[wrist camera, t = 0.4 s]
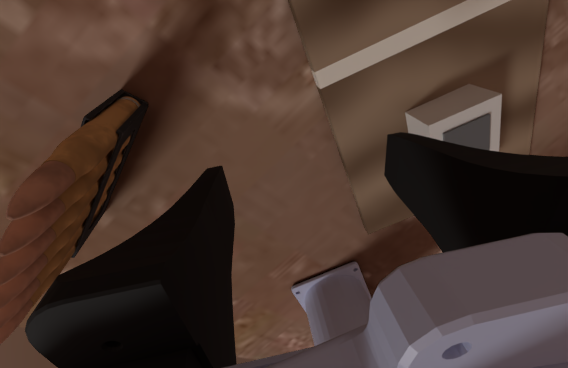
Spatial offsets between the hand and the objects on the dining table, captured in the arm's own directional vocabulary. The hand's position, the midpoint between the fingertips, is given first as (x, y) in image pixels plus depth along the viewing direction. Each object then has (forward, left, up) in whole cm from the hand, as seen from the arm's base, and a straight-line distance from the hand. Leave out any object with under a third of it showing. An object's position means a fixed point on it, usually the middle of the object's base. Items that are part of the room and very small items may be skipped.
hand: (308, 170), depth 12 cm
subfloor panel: (-5, -11, -10) cm, 16 cm away
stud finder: (-8, -11, -9) cm, 16 cm away
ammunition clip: (+2, +13, -10) cm, 16 cm away
